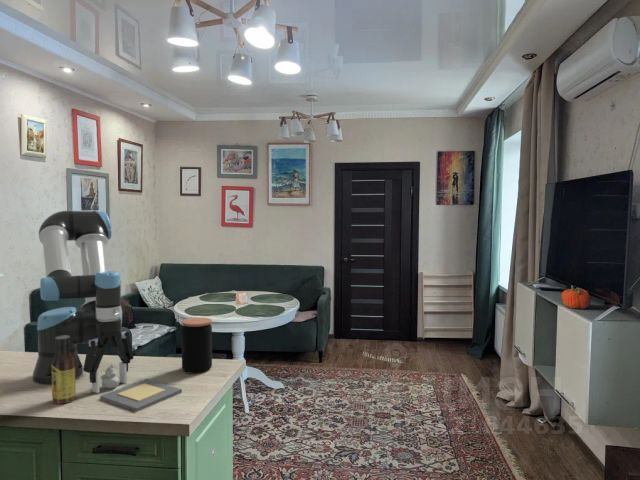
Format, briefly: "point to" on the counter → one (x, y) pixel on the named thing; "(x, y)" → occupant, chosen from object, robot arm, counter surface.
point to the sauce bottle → (63, 372)
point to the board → (141, 394)
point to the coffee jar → (196, 345)
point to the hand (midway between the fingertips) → (109, 386)
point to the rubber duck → (110, 378)
